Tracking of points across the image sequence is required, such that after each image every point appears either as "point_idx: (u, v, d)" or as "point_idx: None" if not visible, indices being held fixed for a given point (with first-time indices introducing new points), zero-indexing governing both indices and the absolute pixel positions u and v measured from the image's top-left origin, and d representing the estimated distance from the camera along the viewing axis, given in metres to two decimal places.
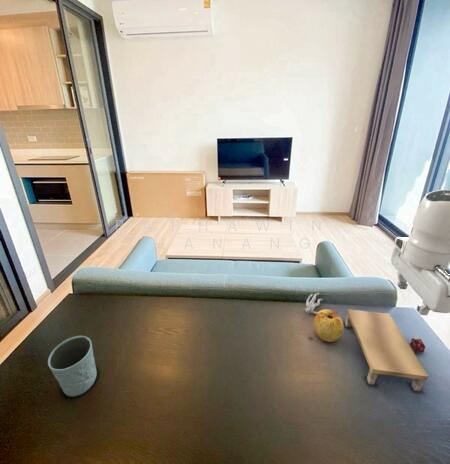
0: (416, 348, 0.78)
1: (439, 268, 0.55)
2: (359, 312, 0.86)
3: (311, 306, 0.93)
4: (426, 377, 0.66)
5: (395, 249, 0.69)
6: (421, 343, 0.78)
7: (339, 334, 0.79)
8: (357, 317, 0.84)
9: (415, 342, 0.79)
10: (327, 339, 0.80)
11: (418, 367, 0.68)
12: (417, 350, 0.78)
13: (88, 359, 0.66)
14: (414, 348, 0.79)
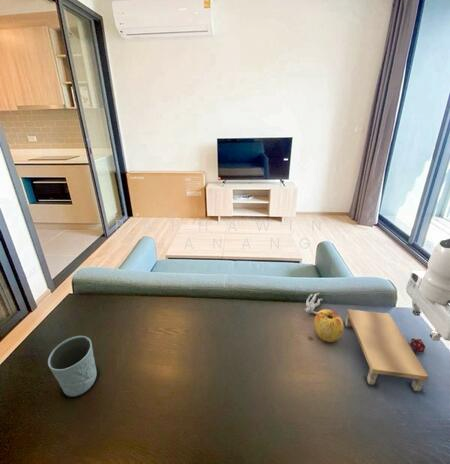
0: (416, 348, 0.78)
1: None
2: (359, 312, 0.86)
3: (311, 306, 0.93)
4: (426, 377, 0.66)
5: (410, 281, 0.80)
6: (421, 343, 0.78)
7: (339, 334, 0.79)
8: (357, 317, 0.84)
9: (415, 342, 0.79)
10: (327, 339, 0.80)
11: (418, 367, 0.68)
12: (417, 350, 0.78)
13: (88, 359, 0.66)
14: (414, 348, 0.79)
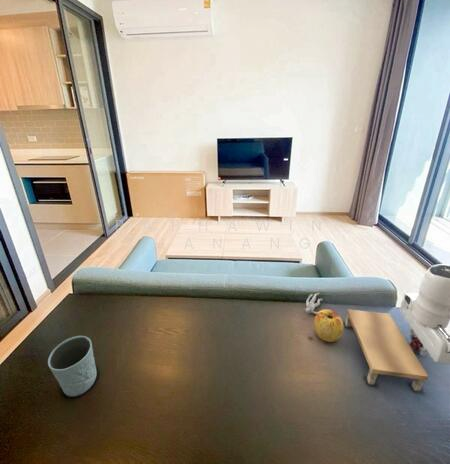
0: (416, 348, 0.78)
1: (441, 327, 0.70)
2: (359, 312, 0.86)
3: (311, 306, 0.93)
4: (426, 377, 0.66)
5: (404, 302, 0.84)
6: (421, 343, 0.78)
7: (339, 334, 0.79)
8: (357, 317, 0.84)
9: (415, 342, 0.79)
10: (327, 339, 0.80)
11: (418, 367, 0.68)
12: (417, 350, 0.78)
13: (88, 359, 0.66)
14: (414, 348, 0.79)
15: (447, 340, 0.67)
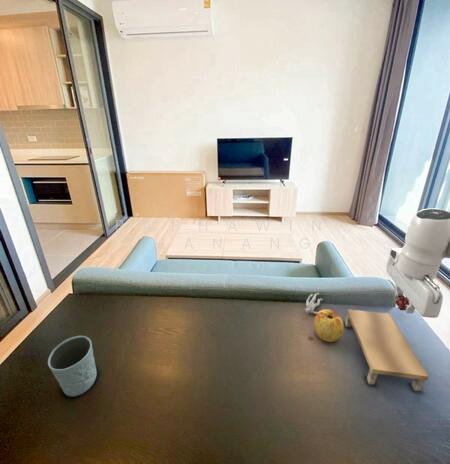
0: (402, 305, 0.71)
1: (428, 277, 0.62)
2: (359, 312, 0.86)
3: (311, 306, 0.93)
4: (426, 377, 0.66)
5: (390, 259, 0.76)
6: (407, 300, 0.71)
7: (339, 334, 0.79)
8: (357, 317, 0.84)
9: (401, 300, 0.71)
10: (327, 339, 0.80)
11: (418, 367, 0.68)
12: (403, 308, 0.71)
13: (88, 359, 0.66)
14: (399, 306, 0.71)
15: (434, 289, 0.60)
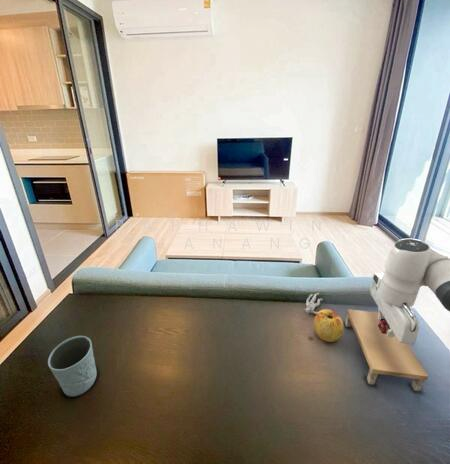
0: (384, 329, 0.73)
1: (406, 305, 0.65)
2: (359, 312, 0.86)
3: (311, 306, 0.93)
4: (426, 377, 0.66)
5: (373, 282, 0.79)
6: None
7: (339, 334, 0.79)
8: (357, 317, 0.84)
9: (383, 323, 0.74)
10: (327, 339, 0.80)
11: (418, 367, 0.68)
12: (384, 332, 0.74)
13: (88, 359, 0.66)
14: (382, 330, 0.74)
15: (411, 318, 0.63)
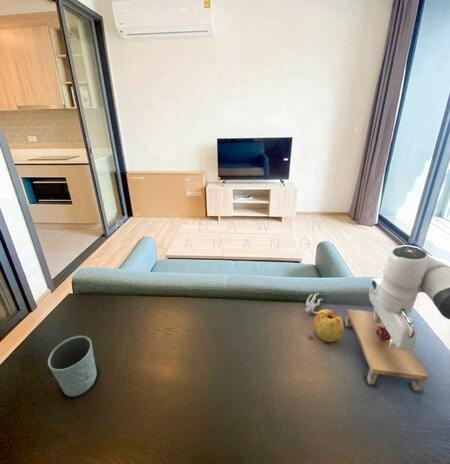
0: (382, 336, 0.74)
1: (404, 312, 0.66)
2: (359, 312, 0.86)
3: (311, 306, 0.93)
4: (426, 377, 0.66)
5: (371, 288, 0.80)
6: (387, 331, 0.75)
7: (339, 334, 0.79)
8: (357, 317, 0.84)
9: (381, 330, 0.75)
10: (327, 339, 0.80)
11: (418, 367, 0.68)
12: (383, 338, 0.75)
13: (88, 359, 0.66)
14: (380, 336, 0.75)
15: (409, 324, 0.63)
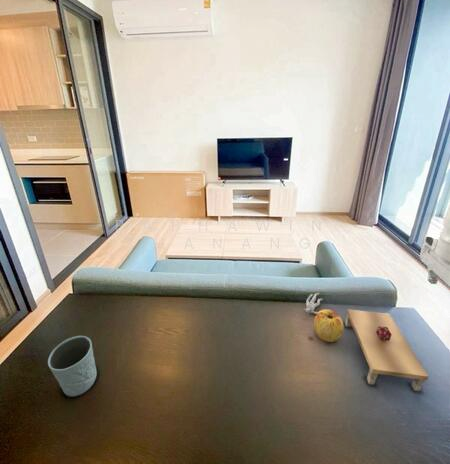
0: (382, 336, 0.74)
1: None
2: (359, 312, 0.86)
3: (311, 306, 0.93)
4: (426, 377, 0.66)
5: (424, 246, 0.73)
6: (387, 331, 0.75)
7: (339, 334, 0.79)
8: (357, 317, 0.84)
9: (381, 330, 0.75)
10: (327, 339, 0.80)
11: (418, 367, 0.68)
12: (383, 338, 0.75)
13: (88, 359, 0.66)
14: (380, 336, 0.75)
15: None
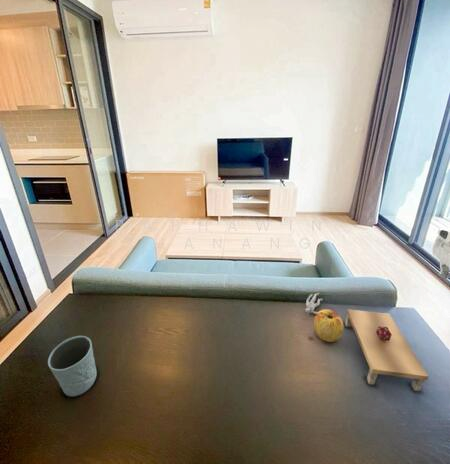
0: (382, 336, 0.74)
1: None
2: (359, 312, 0.86)
3: (311, 306, 0.93)
4: (426, 377, 0.66)
5: (438, 240, 0.72)
6: (387, 331, 0.75)
7: (339, 334, 0.79)
8: (357, 317, 0.84)
9: (381, 330, 0.75)
10: (327, 339, 0.80)
11: (418, 367, 0.68)
12: (383, 338, 0.75)
13: (88, 359, 0.66)
14: (380, 336, 0.75)
15: None
